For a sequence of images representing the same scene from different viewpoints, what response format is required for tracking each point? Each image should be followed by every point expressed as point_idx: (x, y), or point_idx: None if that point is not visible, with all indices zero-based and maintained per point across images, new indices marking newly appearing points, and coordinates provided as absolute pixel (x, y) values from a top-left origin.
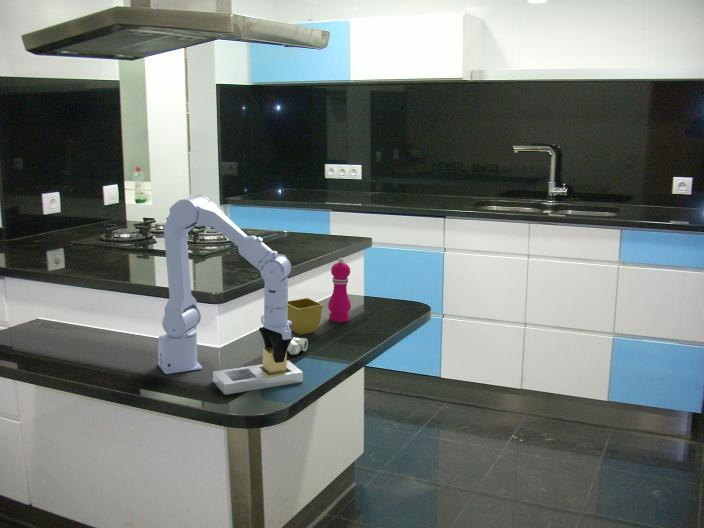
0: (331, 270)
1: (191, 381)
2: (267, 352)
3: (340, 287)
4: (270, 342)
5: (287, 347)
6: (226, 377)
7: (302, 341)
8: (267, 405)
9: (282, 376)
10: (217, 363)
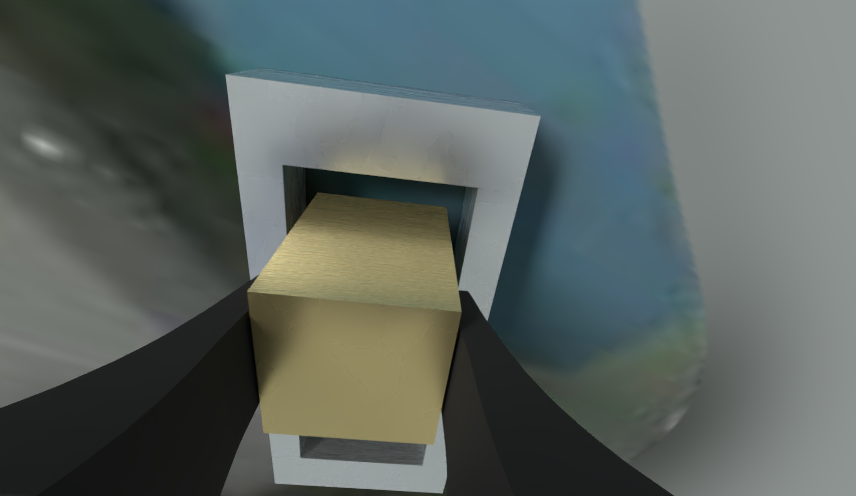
0: None
1: (261, 482)
2: (379, 432)
3: None
4: (229, 415)
5: (539, 391)
6: (369, 469)
7: None
8: (634, 382)
9: (500, 268)
10: (59, 364)
